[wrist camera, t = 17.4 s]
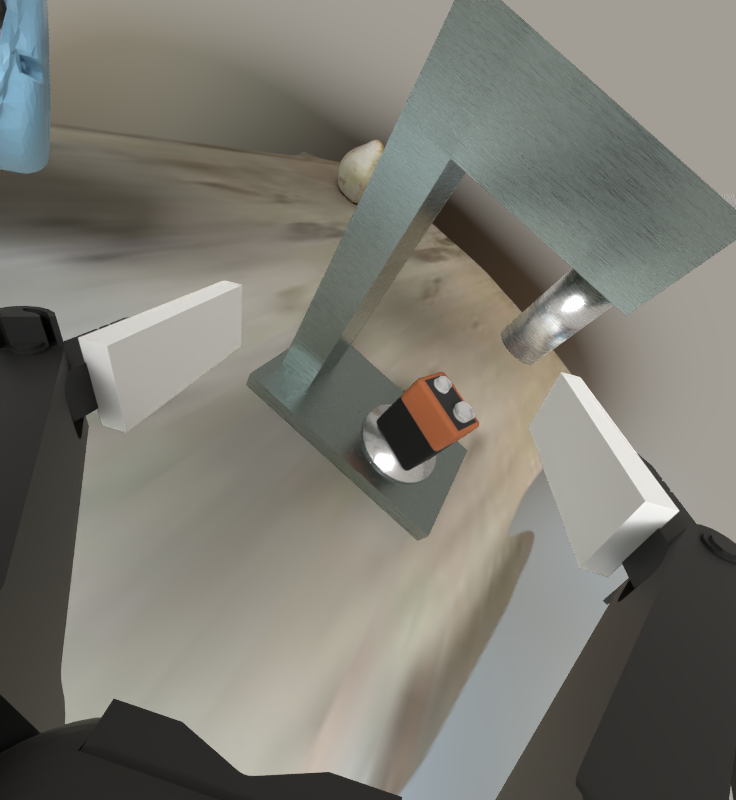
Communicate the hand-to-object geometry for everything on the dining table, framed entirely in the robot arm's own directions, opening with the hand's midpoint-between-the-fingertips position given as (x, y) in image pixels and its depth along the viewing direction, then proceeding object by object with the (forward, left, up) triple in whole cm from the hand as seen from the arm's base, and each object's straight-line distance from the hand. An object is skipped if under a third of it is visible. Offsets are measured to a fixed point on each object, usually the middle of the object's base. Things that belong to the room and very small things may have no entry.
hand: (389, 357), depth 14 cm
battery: (+6, +16, -21) cm, 27 cm away
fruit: (-32, +61, -23) cm, 73 cm away
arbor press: (+5, +16, -23) cm, 29 cm away
